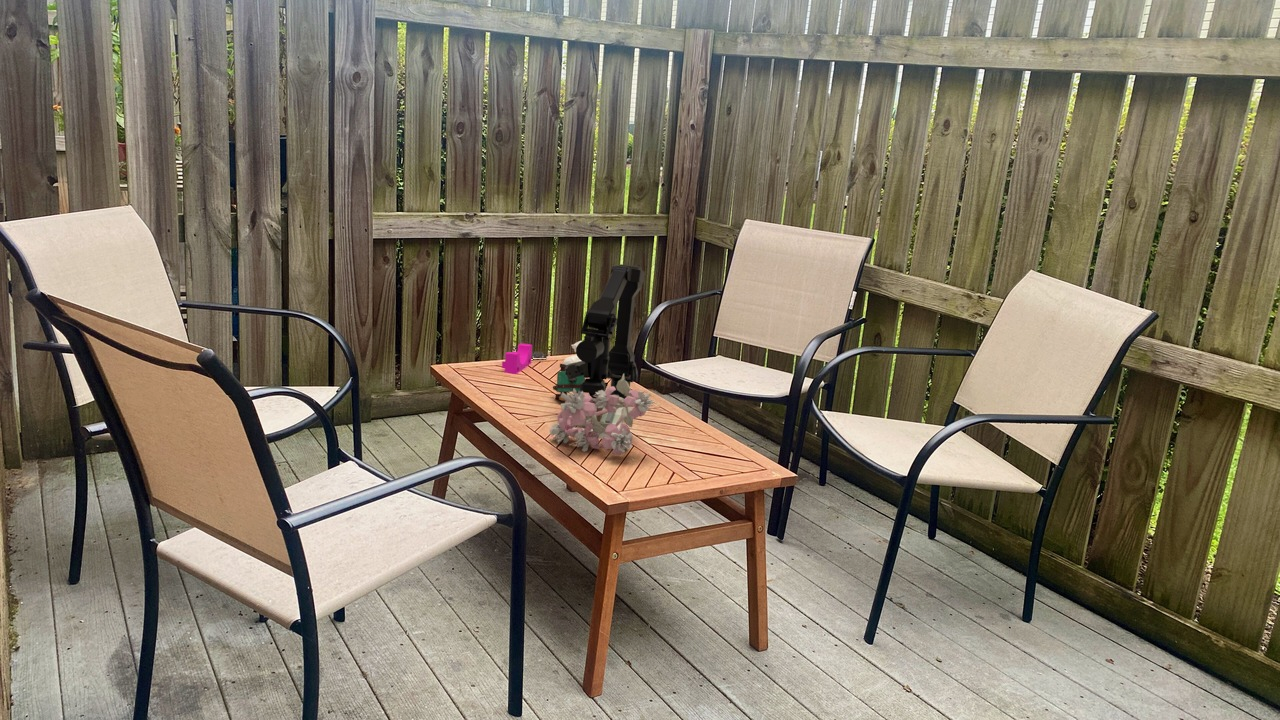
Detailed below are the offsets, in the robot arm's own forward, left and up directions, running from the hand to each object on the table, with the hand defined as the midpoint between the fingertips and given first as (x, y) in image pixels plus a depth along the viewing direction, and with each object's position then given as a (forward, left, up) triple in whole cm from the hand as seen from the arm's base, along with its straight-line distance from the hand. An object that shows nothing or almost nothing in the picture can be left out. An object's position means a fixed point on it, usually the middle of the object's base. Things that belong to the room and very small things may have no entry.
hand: (593, 409), depth 264 cm
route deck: (+2, 0, -3) cm, 4 cm away
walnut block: (+4, 0, -1) cm, 4 cm away
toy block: (-43, -30, -4) cm, 53 cm away
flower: (+13, +15, +8) cm, 22 cm away
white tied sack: (-45, -9, -3) cm, 46 cm away
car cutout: (-58, -21, -4) cm, 62 cm away
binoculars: (-20, -11, +1) cm, 23 cm away
